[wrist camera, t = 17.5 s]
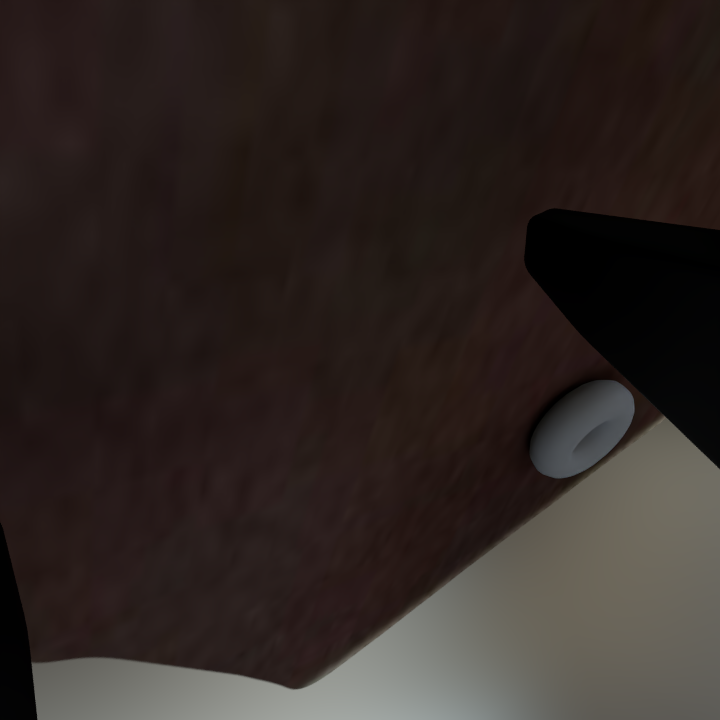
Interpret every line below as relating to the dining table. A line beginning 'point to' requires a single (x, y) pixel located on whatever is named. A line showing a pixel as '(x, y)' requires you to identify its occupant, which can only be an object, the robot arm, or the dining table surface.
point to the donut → (581, 428)
